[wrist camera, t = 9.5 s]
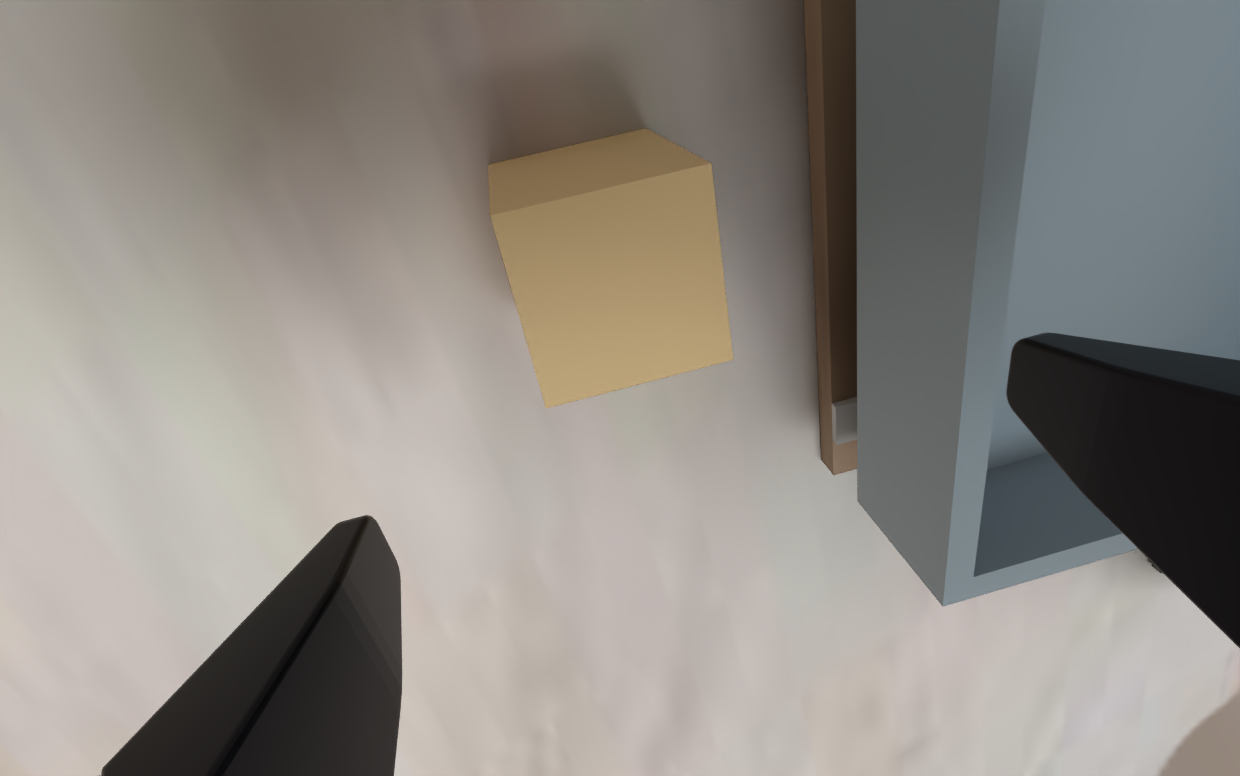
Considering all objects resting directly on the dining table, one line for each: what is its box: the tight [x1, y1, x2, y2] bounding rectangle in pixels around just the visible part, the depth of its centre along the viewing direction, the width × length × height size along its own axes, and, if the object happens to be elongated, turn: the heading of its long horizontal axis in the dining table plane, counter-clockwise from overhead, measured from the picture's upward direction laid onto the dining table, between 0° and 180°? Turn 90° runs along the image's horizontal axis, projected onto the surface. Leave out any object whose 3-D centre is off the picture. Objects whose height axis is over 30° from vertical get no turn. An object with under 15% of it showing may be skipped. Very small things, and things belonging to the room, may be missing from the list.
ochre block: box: [488, 128, 733, 408], centre depth 16 cm, size 4×4×6 cm
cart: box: [856, 0, 1240, 606], centre depth 16 cm, size 14×20×7 cm
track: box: [804, 0, 857, 475], centre depth 19 cm, size 20×22×1 cm
